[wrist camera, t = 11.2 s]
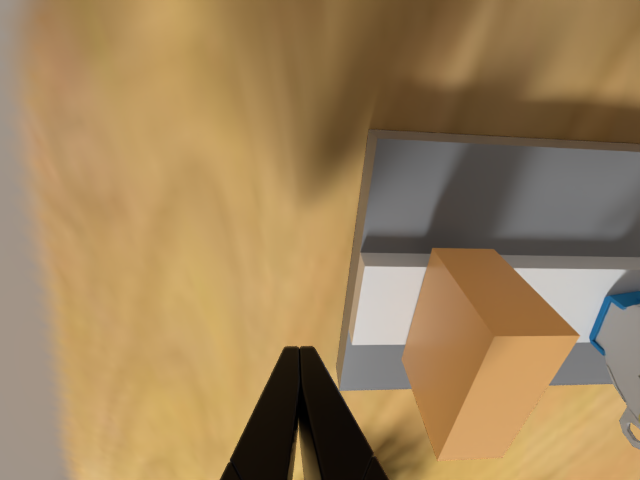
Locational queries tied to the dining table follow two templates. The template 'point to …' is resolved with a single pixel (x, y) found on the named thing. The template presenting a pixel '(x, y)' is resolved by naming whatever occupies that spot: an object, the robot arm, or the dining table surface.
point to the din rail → (488, 236)
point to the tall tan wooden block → (480, 352)
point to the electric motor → (621, 352)
